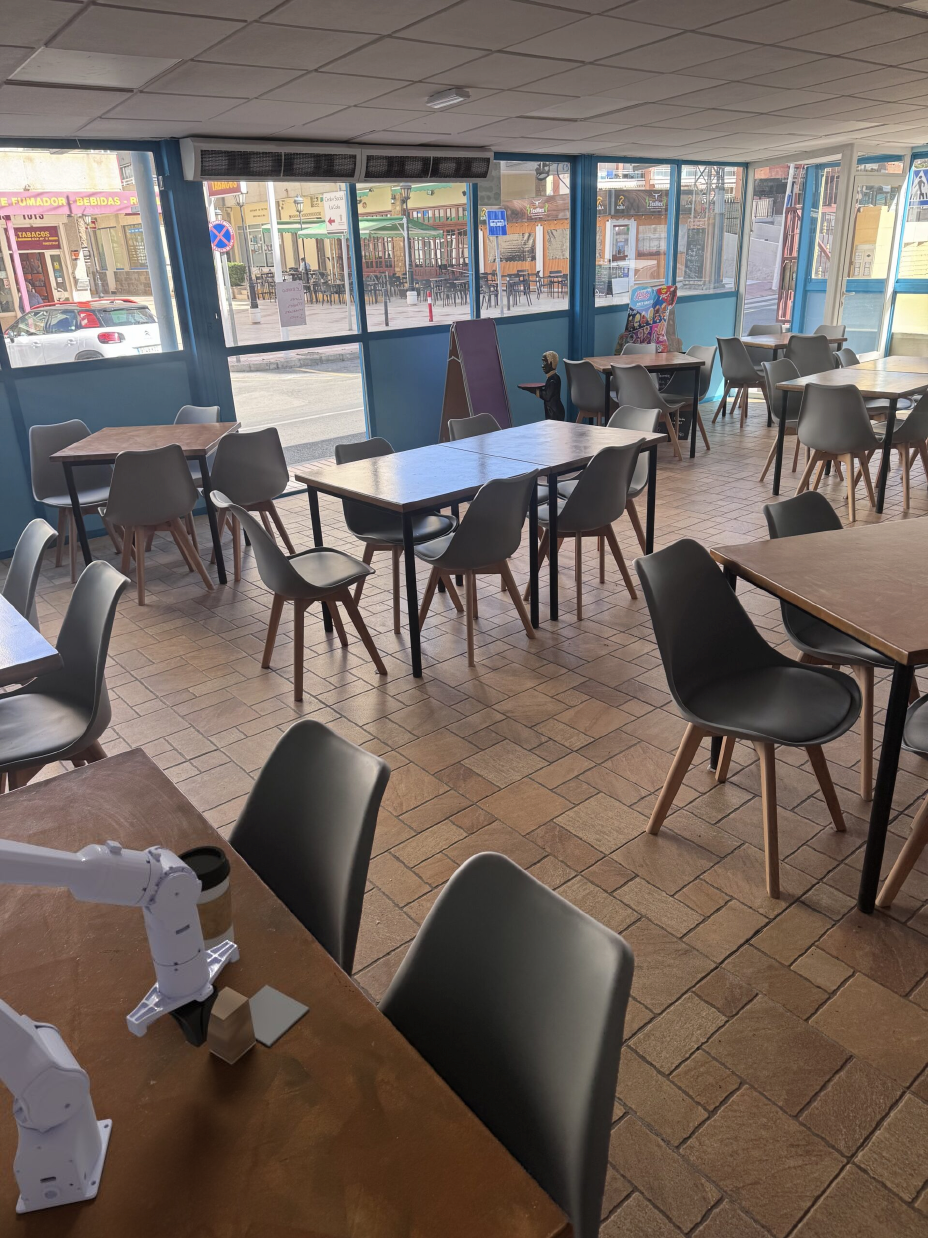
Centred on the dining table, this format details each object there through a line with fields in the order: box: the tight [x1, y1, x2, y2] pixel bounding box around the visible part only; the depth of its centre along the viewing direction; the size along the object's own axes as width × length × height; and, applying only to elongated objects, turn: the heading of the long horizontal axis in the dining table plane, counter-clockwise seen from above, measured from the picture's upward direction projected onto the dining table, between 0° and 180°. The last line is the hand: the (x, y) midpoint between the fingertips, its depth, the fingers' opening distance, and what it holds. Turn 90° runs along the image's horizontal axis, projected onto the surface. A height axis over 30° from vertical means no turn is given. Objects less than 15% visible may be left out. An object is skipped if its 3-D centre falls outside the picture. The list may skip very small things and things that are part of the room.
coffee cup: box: [176, 845, 235, 951], centre depth 126 cm, size 8×8×15 cm
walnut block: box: [207, 986, 257, 1065], centre depth 109 cm, size 4×4×7 cm
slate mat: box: [248, 984, 310, 1048], centre depth 115 cm, size 7×8×1 cm
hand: (197, 1041), depth 105 cm, fingers closed
